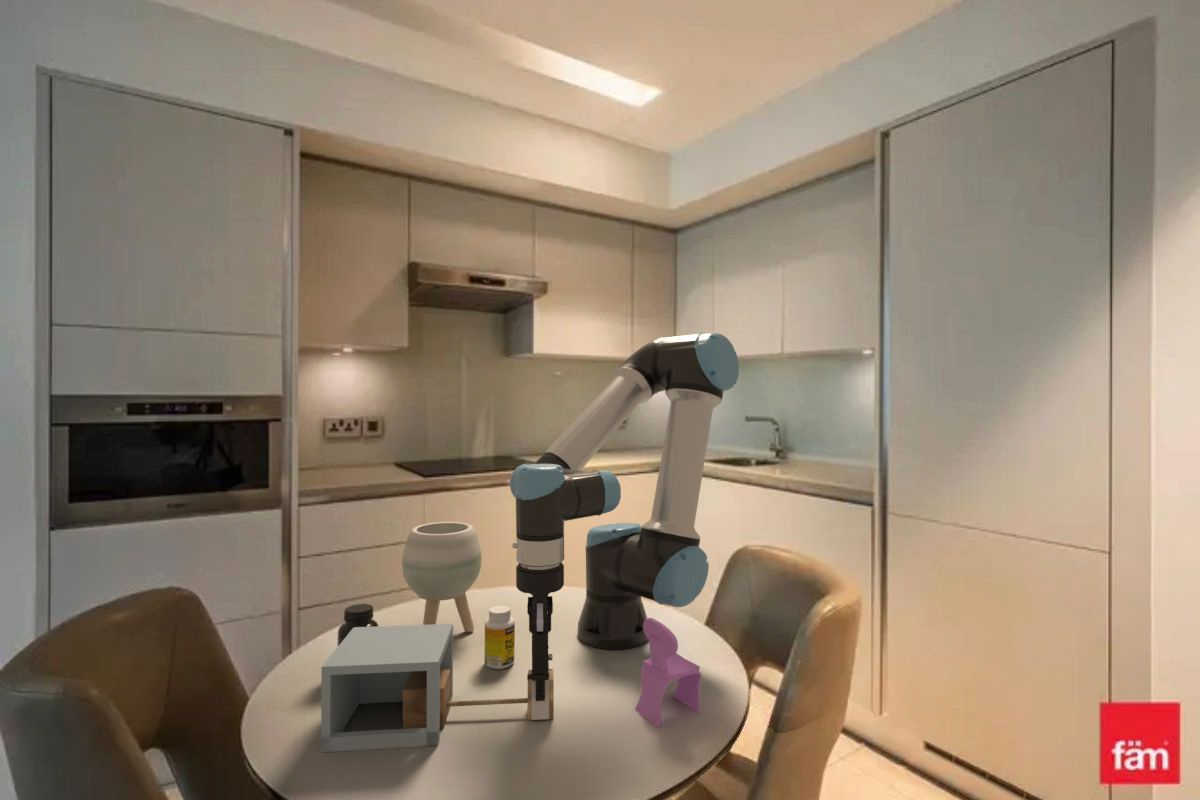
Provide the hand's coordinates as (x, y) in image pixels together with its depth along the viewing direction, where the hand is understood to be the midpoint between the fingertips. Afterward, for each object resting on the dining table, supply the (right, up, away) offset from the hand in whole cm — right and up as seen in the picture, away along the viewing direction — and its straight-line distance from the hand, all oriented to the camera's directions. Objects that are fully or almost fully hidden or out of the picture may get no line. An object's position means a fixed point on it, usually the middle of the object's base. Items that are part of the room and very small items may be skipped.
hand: (540, 710), depth 91 cm
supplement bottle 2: (-9, -1, +17) cm, 19 cm away
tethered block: (-9, 0, -1) cm, 9 cm away
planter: (-24, 0, +30) cm, 39 cm away
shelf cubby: (-22, 0, -3) cm, 23 cm away
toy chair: (+20, -1, +1) cm, 20 cm away
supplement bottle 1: (-34, 0, +12) cm, 36 cm away
